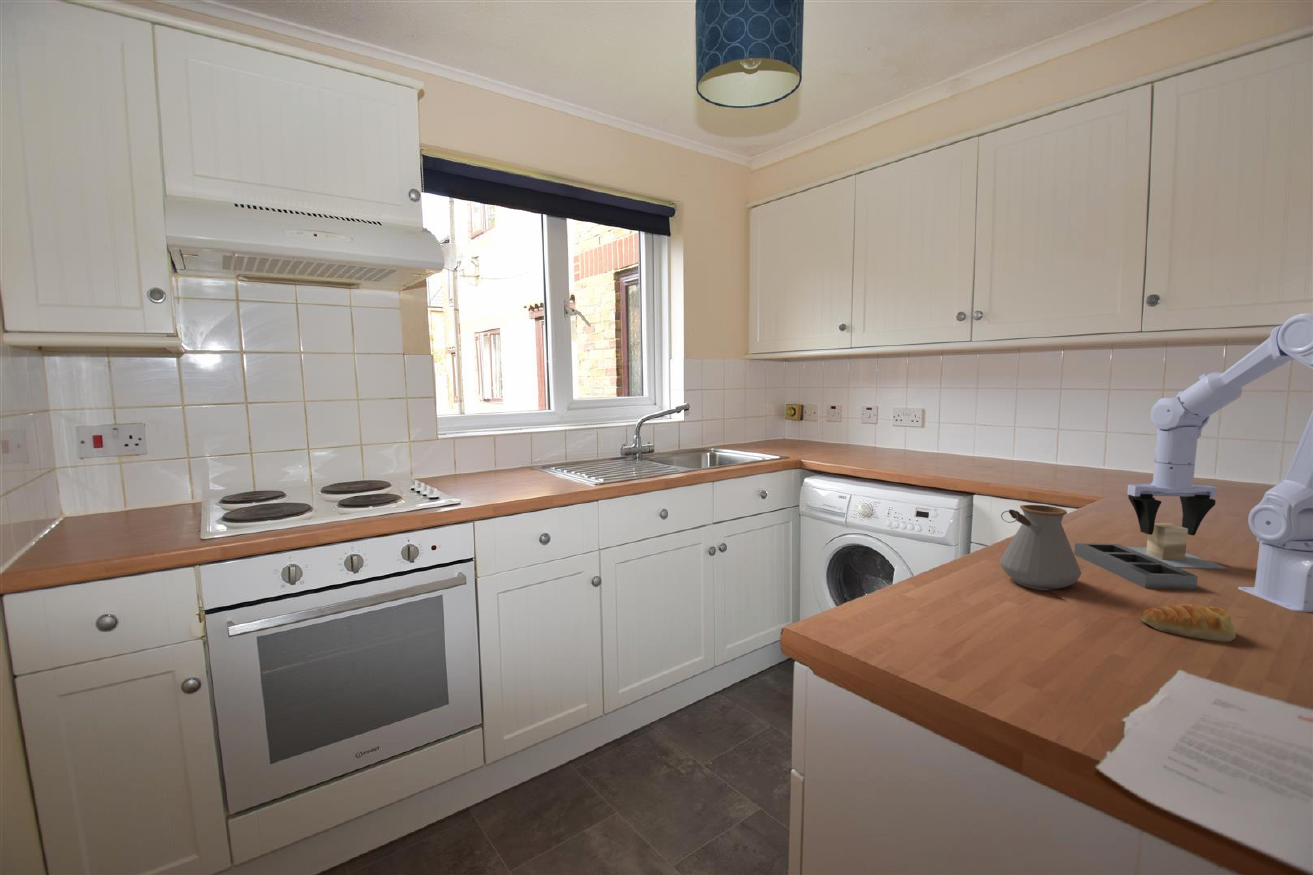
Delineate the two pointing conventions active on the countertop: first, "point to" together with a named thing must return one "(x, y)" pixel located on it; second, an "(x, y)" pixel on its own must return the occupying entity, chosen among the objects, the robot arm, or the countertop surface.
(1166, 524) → the peg
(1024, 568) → the coffee pot
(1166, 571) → the tray
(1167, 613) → the pastry
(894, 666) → the countertop surface
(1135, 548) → the mat
